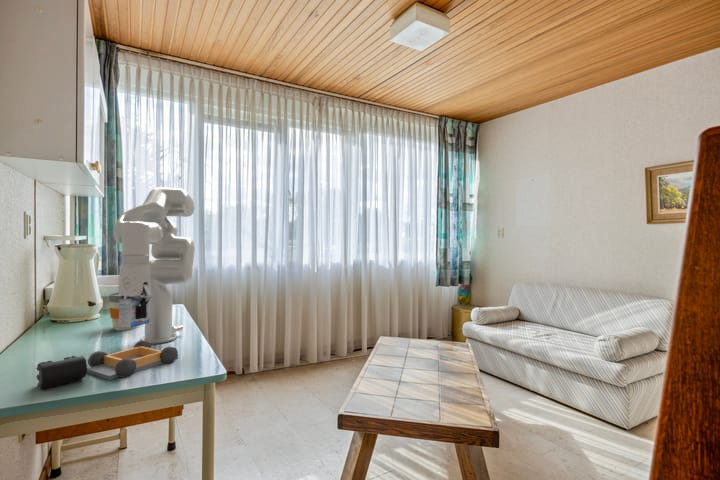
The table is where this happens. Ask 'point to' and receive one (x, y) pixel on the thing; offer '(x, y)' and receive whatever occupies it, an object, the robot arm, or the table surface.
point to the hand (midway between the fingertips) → (135, 316)
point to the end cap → (61, 371)
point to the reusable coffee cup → (116, 311)
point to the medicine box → (131, 313)
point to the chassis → (129, 360)
